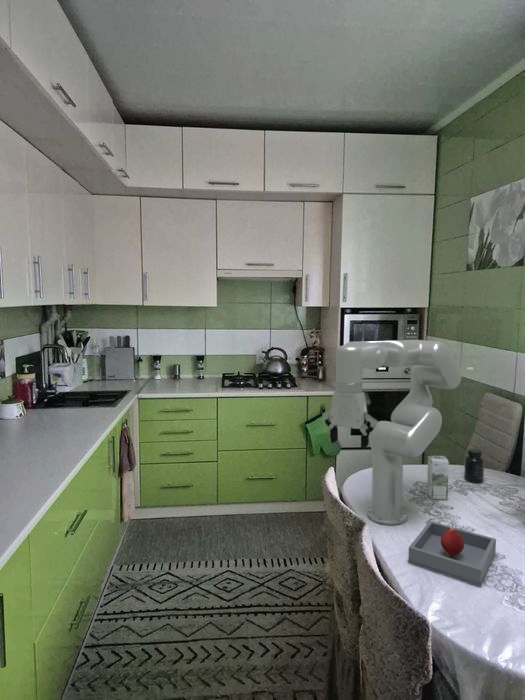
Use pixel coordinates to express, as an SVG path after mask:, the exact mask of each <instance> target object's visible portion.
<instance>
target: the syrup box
mask: <svg viewBox="0 0 525 700" xmlns="http://www.w3.org/2000/svg"><path fill="white" fill-rule="evenodd" d="M427 458H428V459H427V484H426V485H427V486H426V487H427V489H426V492H427V493H426V494H427V495H428V497H429V498H430V499H431V500H433V501H434V500H436V501H440V500H441V501H443V500H444V501H448V500H449V499H448V498H449V497H448V494H449V493H448V492H449V472H450V468H449V467H450V462H449V459H448V458H447V457H446V456H445V455H428V456H427Z"/></svg>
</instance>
